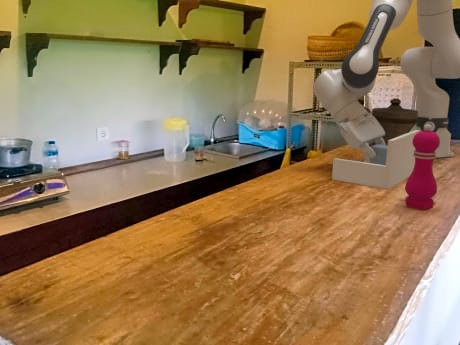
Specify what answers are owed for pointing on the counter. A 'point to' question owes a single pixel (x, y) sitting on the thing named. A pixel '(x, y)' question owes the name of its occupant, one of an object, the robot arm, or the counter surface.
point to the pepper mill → (423, 170)
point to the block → (379, 154)
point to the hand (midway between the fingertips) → (380, 154)
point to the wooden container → (395, 120)
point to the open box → (380, 175)
